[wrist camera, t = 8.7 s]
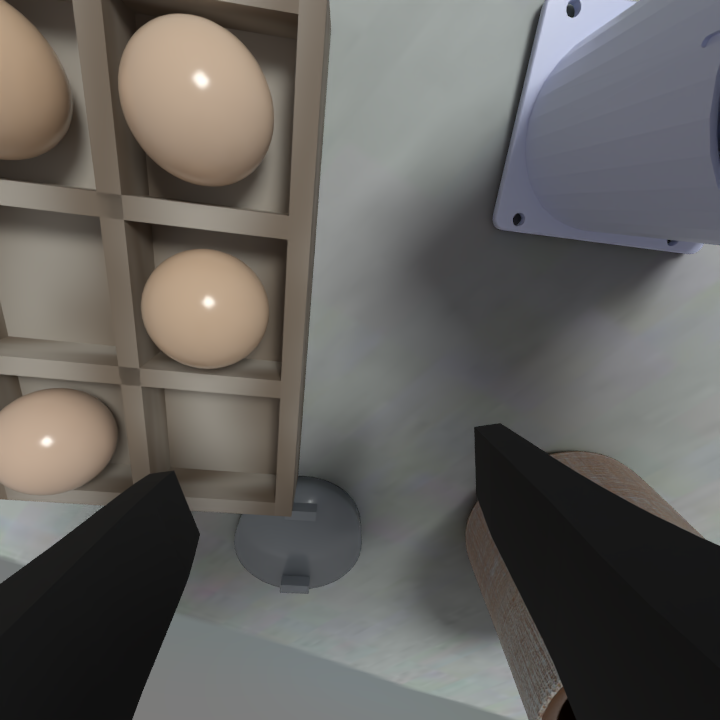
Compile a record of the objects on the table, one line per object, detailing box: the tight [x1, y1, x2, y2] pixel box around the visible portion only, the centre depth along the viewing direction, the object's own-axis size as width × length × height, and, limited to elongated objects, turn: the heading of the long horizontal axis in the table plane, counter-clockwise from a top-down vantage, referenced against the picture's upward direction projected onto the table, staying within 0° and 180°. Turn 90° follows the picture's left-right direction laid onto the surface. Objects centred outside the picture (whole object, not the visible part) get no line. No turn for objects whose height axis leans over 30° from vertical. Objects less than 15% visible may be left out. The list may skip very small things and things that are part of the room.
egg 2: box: [0, 388, 118, 496], centre depth 16 cm, size 4×4×4 cm
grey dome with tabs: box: [234, 476, 362, 594], centre depth 22 cm, size 7×7×2 cm
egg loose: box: [141, 249, 269, 369], centre depth 14 cm, size 4×4×4 cm
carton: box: [0, 0, 331, 517], centre depth 16 cm, size 14×20×3 cm
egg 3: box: [118, 13, 274, 187], centre depth 12 cm, size 4×4×4 cm
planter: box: [465, 451, 706, 720], centre depth 19 cm, size 11×11×10 cm
